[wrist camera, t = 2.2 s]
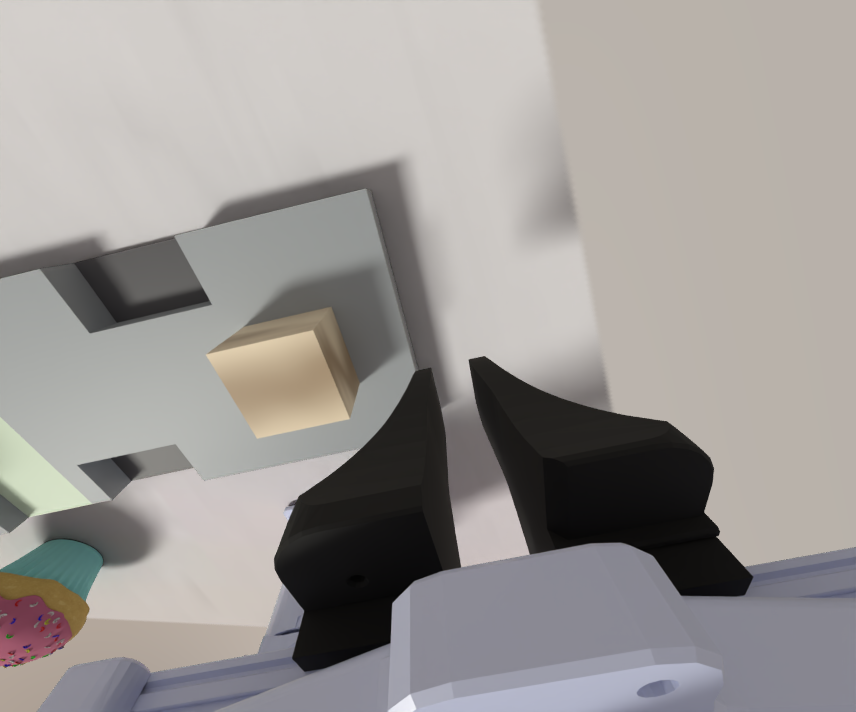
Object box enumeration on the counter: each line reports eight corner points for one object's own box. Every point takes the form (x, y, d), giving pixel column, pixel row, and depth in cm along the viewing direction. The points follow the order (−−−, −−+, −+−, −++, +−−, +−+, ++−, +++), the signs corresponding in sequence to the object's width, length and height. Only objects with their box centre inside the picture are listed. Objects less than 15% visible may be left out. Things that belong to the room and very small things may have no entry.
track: (430, 415, 23) (433, 446, 20) (45, 496, 24) (-4, 535, 21) (370, 190, 16) (362, 186, 13) (-157, 320, 17) (-269, 342, 14)
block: (359, 383, 19) (349, 419, 16) (282, 400, 19) (257, 438, 16) (331, 306, 17) (312, 330, 13) (243, 326, 17) (205, 354, 14)
